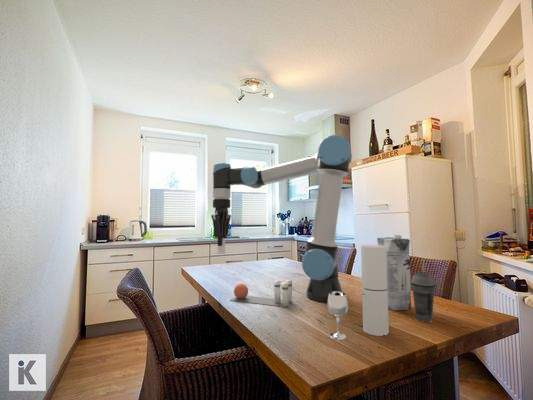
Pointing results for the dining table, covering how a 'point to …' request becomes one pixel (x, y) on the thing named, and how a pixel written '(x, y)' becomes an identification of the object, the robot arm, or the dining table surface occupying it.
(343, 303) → the wineglass
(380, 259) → the cylindrical container
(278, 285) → the pin front
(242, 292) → the ball
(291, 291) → the pin back right
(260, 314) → the dining table surface
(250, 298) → the grey flat board
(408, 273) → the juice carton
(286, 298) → the pin back left
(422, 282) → the beverage cup
